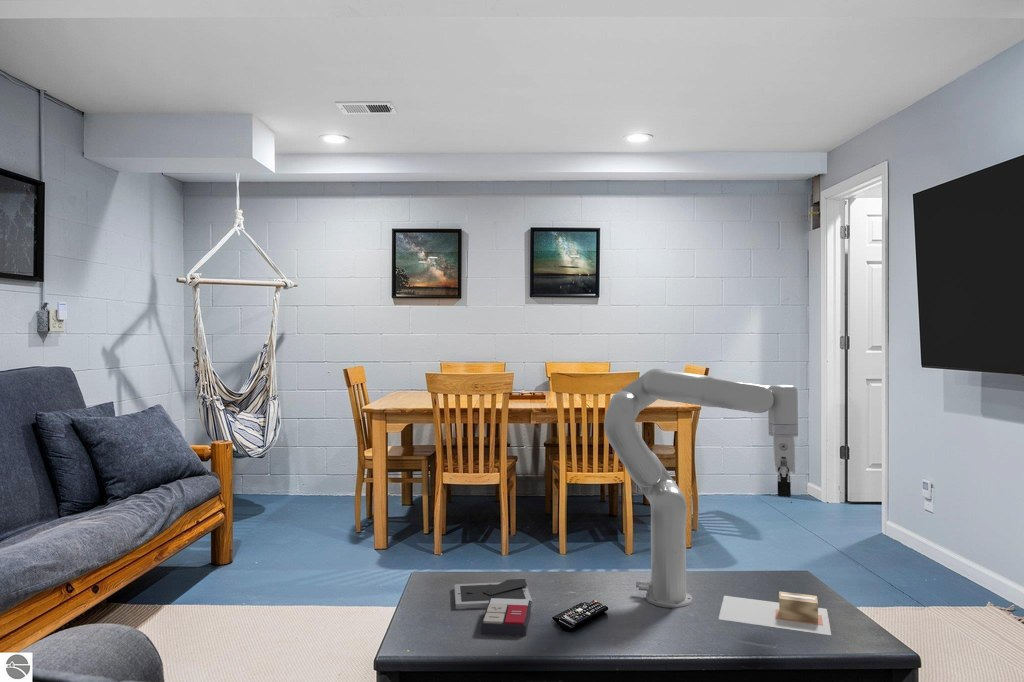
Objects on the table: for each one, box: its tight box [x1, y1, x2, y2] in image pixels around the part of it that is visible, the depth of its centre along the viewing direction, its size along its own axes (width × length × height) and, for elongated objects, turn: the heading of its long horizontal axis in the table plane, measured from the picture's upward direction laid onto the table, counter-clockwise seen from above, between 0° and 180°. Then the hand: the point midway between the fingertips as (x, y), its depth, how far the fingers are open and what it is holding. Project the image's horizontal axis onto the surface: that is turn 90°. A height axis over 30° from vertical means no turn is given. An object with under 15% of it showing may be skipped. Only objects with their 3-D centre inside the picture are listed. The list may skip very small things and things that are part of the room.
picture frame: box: [453, 578, 533, 610], centre depth 184 cm, size 16×3×21 cm
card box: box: [778, 591, 819, 623], centre depth 168 cm, size 9×6×5 cm, turn 68°
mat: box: [718, 595, 832, 636], centre depth 170 cm, size 26×18×1 cm
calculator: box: [480, 598, 532, 637], centre depth 166 cm, size 11×4×15 cm
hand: (784, 493), depth 178 cm, fingers open, 9 cm apart
